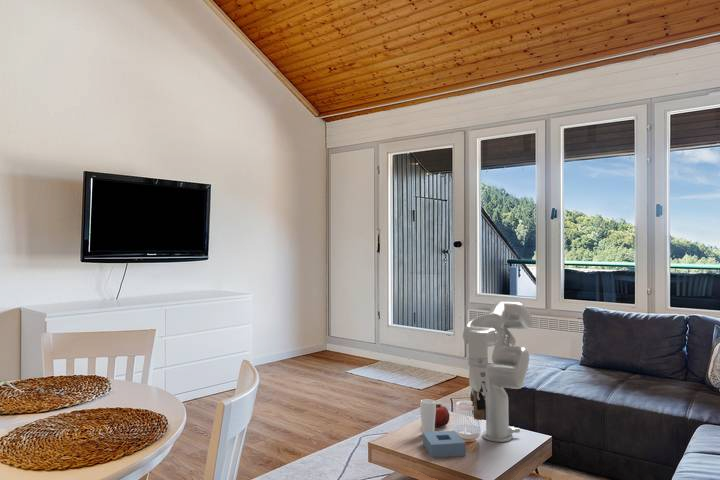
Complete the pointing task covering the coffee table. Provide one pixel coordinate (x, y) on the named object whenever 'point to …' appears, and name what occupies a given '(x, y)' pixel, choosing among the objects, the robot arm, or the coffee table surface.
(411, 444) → the coffee table surface
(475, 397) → the walnut pin
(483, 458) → the coffee table surface
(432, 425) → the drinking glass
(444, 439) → the socket block
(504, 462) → the coffee table surface
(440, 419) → the fruit
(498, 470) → the coffee table surface
